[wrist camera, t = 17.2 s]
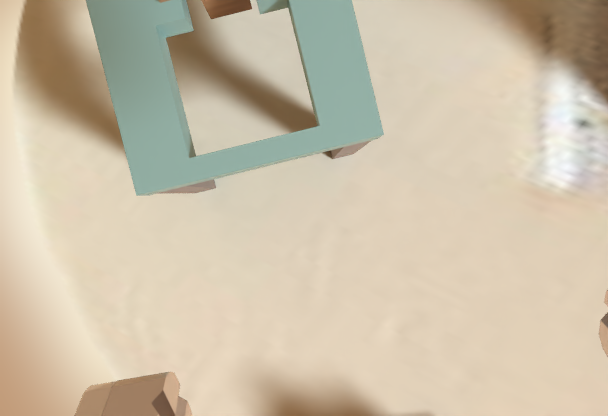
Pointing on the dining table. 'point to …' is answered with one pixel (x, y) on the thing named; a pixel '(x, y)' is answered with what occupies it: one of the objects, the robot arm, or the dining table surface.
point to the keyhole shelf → (169, 108)
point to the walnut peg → (223, 7)
